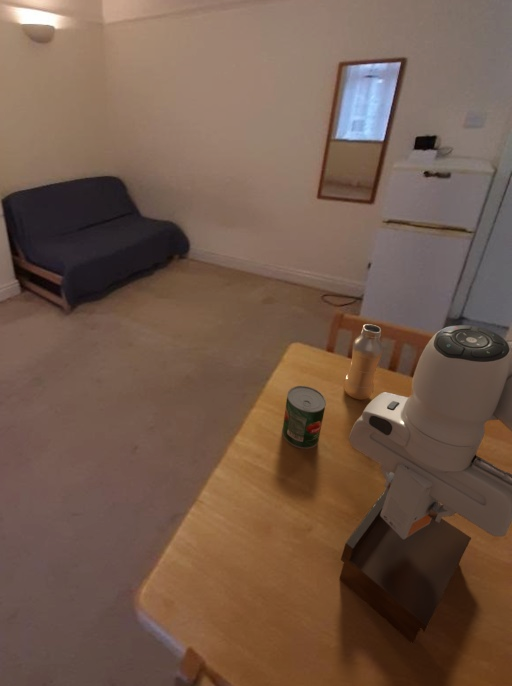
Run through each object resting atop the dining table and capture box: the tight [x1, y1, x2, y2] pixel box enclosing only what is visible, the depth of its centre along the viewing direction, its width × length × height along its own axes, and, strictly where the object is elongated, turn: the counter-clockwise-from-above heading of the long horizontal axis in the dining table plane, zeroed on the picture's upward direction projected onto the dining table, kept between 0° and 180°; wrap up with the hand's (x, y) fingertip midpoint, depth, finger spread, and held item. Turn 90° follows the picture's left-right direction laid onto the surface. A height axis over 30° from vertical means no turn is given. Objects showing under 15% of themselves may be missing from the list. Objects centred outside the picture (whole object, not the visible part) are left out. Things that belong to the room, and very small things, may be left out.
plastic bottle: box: [343, 323, 385, 401], centre depth 98 cm, size 6×7×20 cm
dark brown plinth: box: [339, 487, 472, 644], centre depth 65 cm, size 12×18×9 cm, turn 129°
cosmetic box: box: [380, 464, 440, 539], centre depth 60 cm, size 6×4×12 cm
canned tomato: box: [281, 385, 327, 450], centre depth 89 cm, size 8×8×11 cm
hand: (411, 501), depth 61 cm, fingers closed on cosmetic box, 5 cm apart
